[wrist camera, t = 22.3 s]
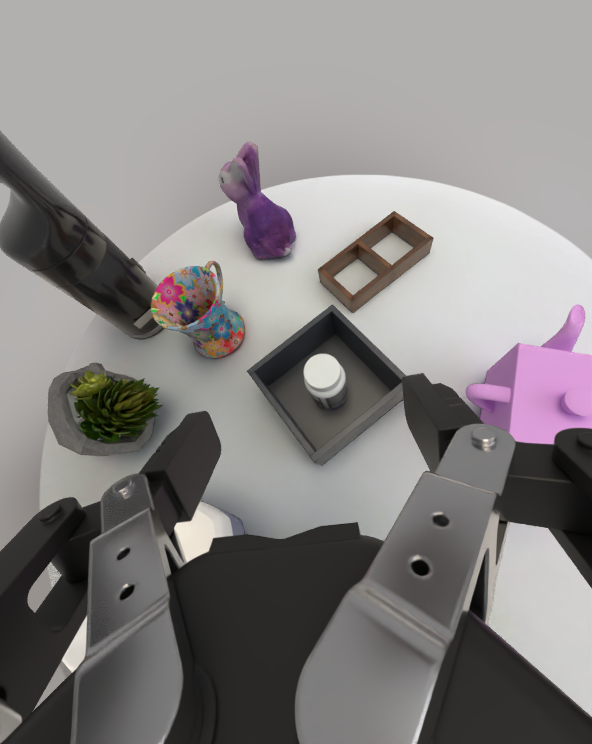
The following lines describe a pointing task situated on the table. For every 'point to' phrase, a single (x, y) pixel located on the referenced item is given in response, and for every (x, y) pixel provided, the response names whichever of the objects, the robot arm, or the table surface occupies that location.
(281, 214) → the figurine
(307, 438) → the dark grey open box
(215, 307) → the mug
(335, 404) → the pill bottle
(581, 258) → the table surface
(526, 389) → the teapot
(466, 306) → the table surface
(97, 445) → the potted plant
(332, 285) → the rack
